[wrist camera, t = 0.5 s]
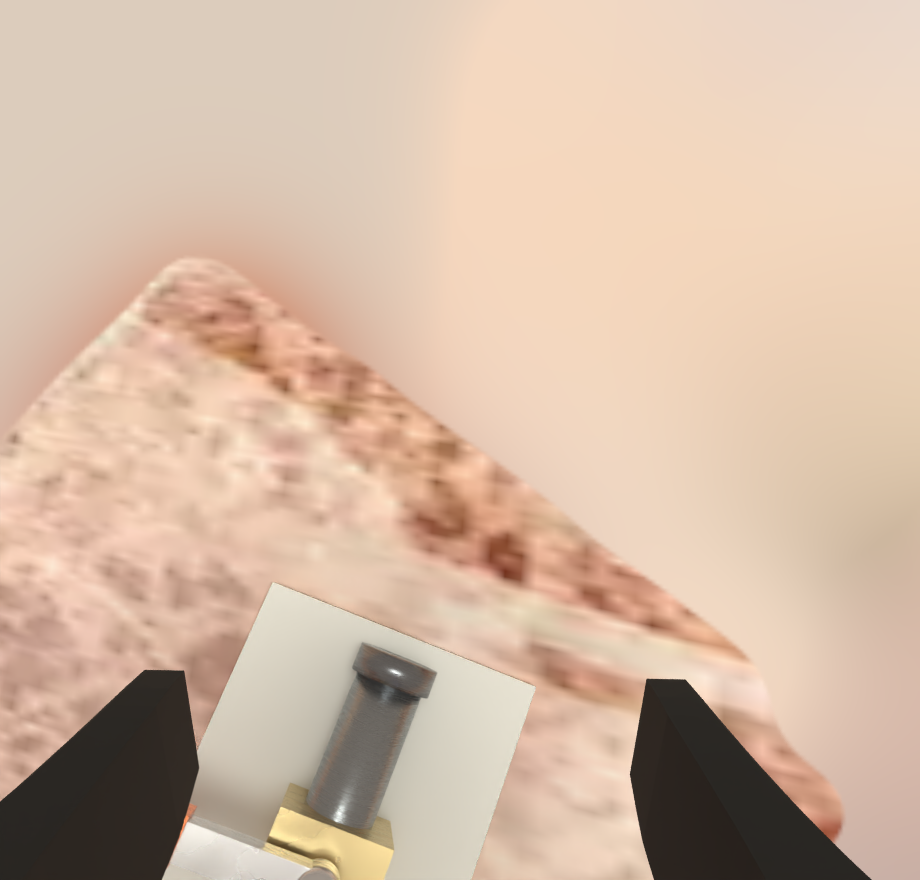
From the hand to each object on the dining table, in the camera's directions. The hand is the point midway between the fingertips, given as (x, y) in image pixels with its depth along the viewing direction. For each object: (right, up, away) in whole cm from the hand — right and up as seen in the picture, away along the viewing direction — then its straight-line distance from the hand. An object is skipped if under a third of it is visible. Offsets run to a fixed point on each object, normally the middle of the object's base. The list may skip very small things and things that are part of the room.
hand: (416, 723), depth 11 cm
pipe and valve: (-6, -14, +22) cm, 27 cm away
